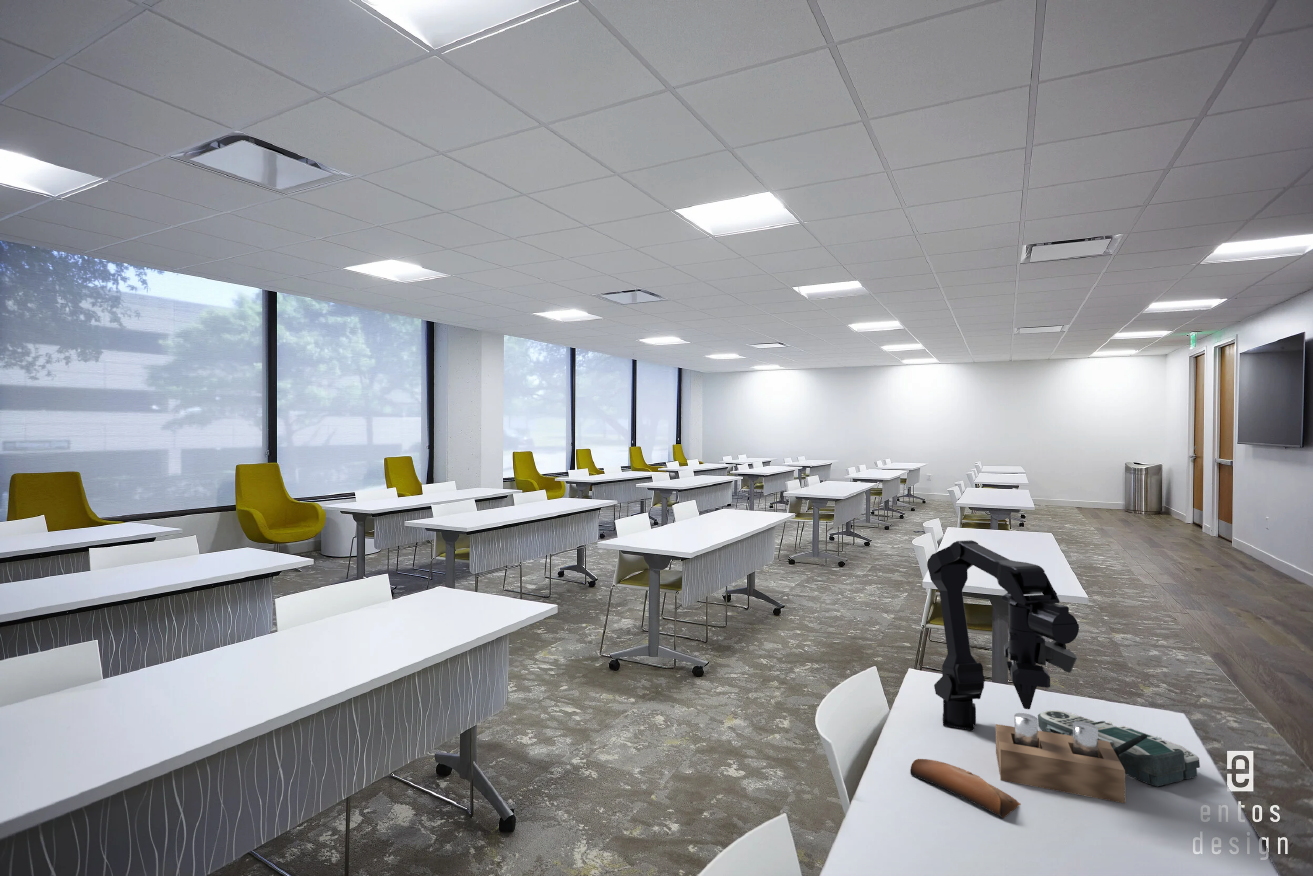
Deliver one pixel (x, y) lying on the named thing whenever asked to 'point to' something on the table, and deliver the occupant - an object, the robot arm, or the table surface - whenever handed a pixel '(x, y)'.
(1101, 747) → the pin block
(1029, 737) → the pin
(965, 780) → the sunglasses case
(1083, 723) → the pin
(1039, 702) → the table surface
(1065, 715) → the communication device
